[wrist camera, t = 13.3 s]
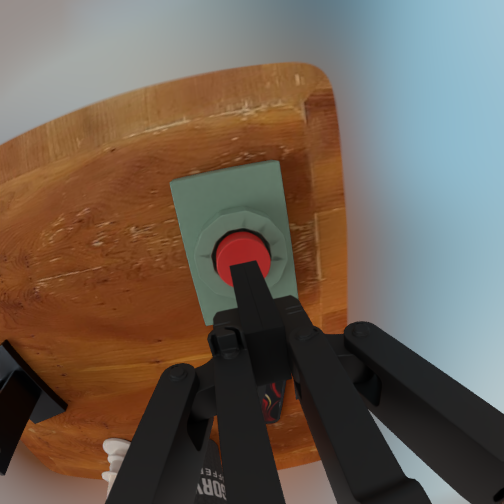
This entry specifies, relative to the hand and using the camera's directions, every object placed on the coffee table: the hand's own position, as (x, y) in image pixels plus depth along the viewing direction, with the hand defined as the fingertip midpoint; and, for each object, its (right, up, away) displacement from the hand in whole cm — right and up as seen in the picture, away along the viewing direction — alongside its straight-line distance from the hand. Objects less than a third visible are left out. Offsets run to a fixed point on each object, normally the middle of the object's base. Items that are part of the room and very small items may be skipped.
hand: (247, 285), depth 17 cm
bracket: (-28, -14, +10) cm, 33 cm away
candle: (-17, -25, +16) cm, 34 cm away
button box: (-1, +3, +8) cm, 9 cm away
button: (0, +2, +5) cm, 5 cm away
